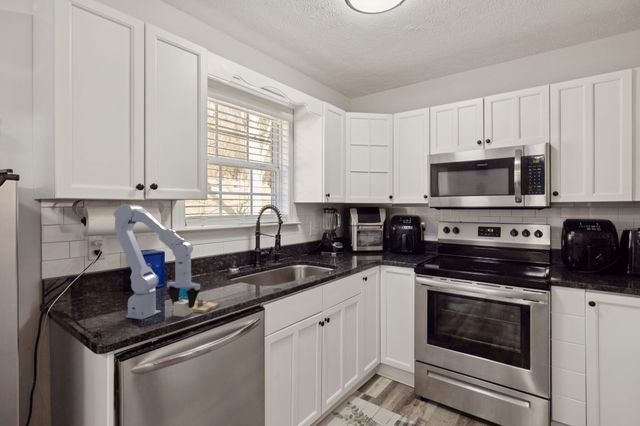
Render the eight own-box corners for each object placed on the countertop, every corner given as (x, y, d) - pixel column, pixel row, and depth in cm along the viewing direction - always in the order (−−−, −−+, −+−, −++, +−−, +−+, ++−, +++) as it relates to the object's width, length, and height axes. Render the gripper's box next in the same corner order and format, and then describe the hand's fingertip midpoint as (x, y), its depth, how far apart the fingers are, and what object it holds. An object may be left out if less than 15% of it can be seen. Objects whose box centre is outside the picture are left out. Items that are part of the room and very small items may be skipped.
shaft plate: (204, 312, 132) (204, 304, 132) (180, 309, 136) (180, 301, 135) (219, 305, 141) (219, 297, 141) (196, 303, 145) (196, 295, 145)
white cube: (192, 312, 132) (192, 300, 132) (184, 316, 127) (184, 303, 127) (182, 311, 133) (182, 298, 133) (173, 315, 129) (173, 302, 128)
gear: (169, 297, 148) (178, 278, 155) (172, 303, 152) (181, 285, 159) (193, 301, 147) (201, 282, 154) (195, 307, 152) (203, 288, 159)
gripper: (160, 273, 128) (161, 307, 129) (191, 275, 124) (191, 311, 124) (174, 269, 135) (174, 302, 135) (203, 272, 130) (203, 305, 131)
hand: (183, 306), depth 130 cm, fingers open, 7 cm apart
